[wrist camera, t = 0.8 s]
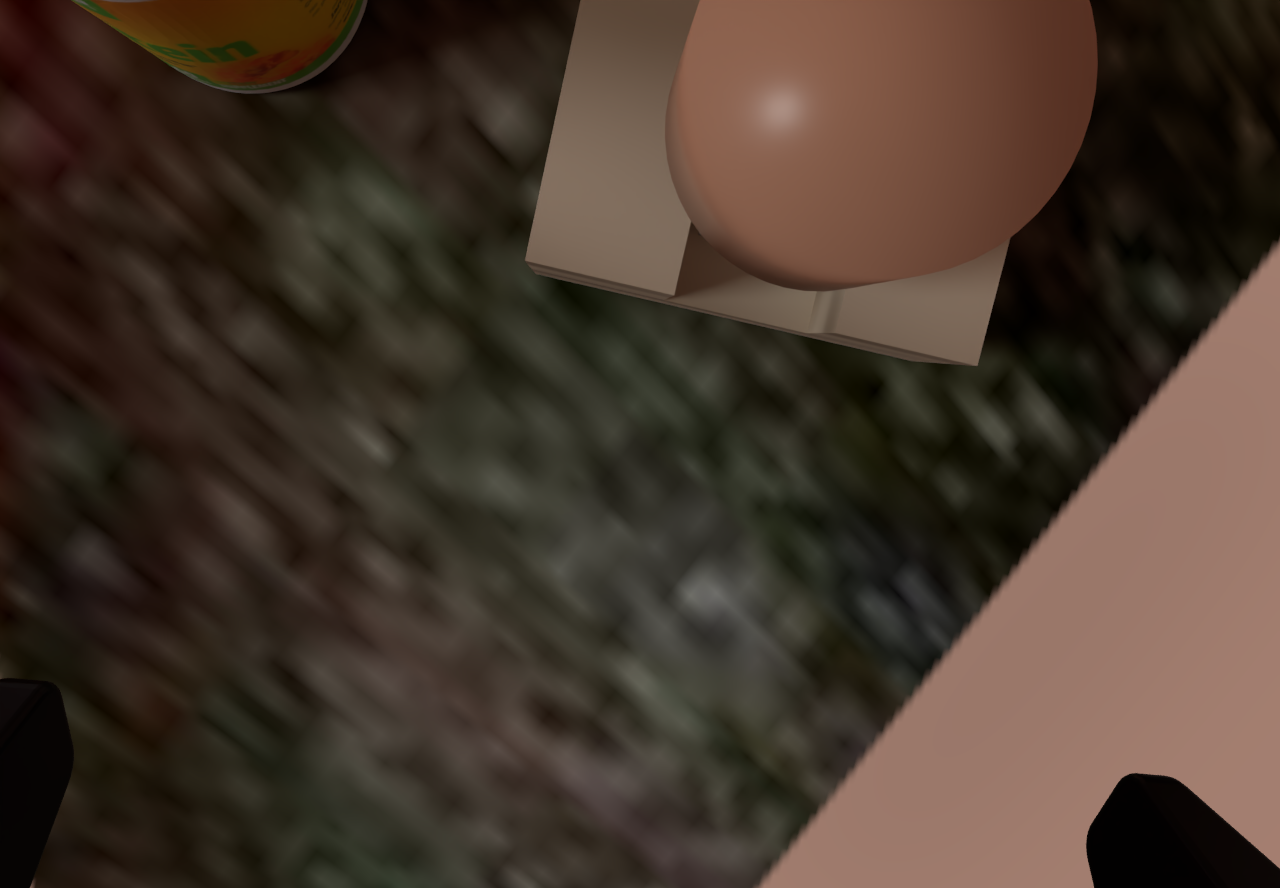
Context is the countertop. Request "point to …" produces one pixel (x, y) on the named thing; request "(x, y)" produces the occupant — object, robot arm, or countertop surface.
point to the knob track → (668, 240)
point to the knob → (875, 130)
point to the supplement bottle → (238, 37)
